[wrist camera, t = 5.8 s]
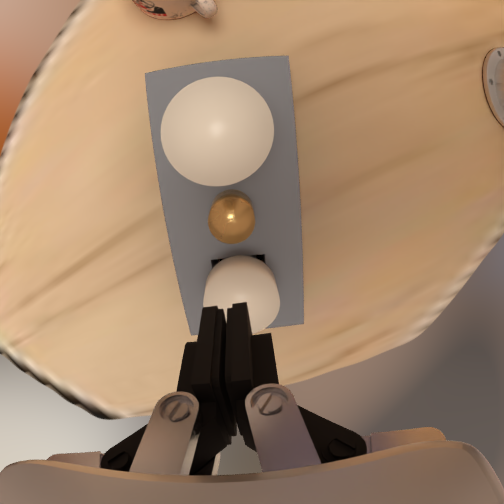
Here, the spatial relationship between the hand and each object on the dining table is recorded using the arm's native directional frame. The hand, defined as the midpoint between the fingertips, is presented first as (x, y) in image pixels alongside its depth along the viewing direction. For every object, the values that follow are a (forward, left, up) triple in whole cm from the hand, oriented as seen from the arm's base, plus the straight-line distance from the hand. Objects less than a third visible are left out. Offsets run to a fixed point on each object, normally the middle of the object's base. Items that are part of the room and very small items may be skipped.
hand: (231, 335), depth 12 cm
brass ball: (0, 0, -17) cm, 17 cm away
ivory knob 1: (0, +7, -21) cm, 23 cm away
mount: (0, 0, -23) cm, 23 cm away
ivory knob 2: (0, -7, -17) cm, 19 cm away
